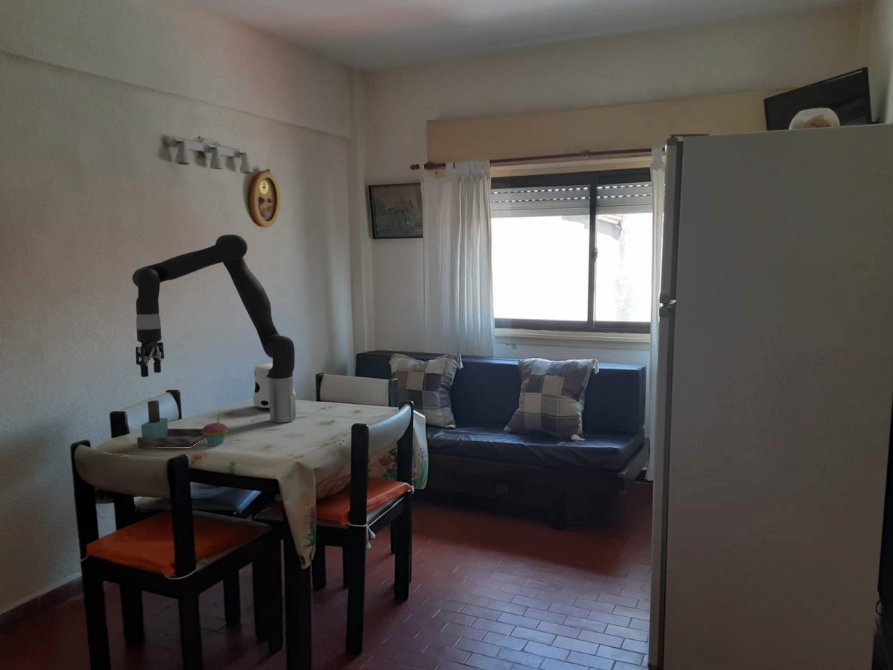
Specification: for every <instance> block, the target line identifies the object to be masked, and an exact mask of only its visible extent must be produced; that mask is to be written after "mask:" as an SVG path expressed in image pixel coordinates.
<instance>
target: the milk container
mask: <svg viewBox="0 0 893 670" xmlns="http://www.w3.org/2000/svg"><path fill="white" fill-rule="evenodd" d="M272 366H273V362H271V363H270V362H269V363H263V364H257V365H255V366H254V391H253V395H252V396H253V403H254V406H255V407H256V408H258V409H262V410H267V411H268V410H269V411H270V407H269V382H268V371H269V370H270V369H271V368H272ZM293 395H295V398H296V390H295V387H294V386H293Z"/></svg>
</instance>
